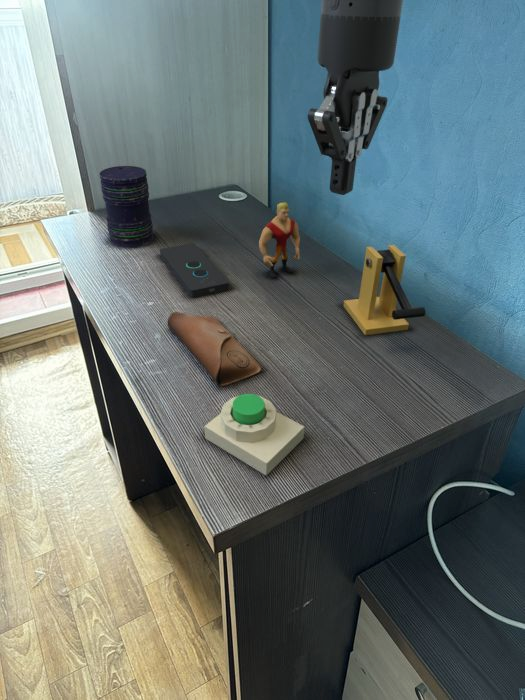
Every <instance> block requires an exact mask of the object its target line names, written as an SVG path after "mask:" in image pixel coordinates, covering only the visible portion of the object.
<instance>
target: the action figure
mask: <svg viewBox="0 0 525 700" xmlns="http://www.w3.org/2000/svg"><path fill="white" fill-rule="evenodd" d="M289 215H290V209H289V204H288V203H287V202H286V201H283V202H280V203H278V204H276V216H274V217H273V219H272V220H271V221H270V222H268V223H267V224H265V227H264V228H263V230H262V232H261V235H260V238H259V240H258V247H259V251H260V253H261V254H262V256H263V258H262V259H263V263H264V264H265V265H266V266H268V267H269V268H270V269H269V276H270V277H271V279H276V278H277V274H276V273H275V265H276V264H277V263H278V260H279V259H280V256H281V263H282V266H281V270H282V271H286V272H288V273H290V274H294V270H293V269H291V268H290V267H288V266H287V262H288V260H289V259H288V252H287V251H288V250H287V241H288V239H289V238H290V240H291V242H292V244H293V245H294V247H295V248H294V250H295V255H294V256H293V258H294V260H300V244H301V243H300V242H301V236H300V233H299V225H298V223H297V222H296V221H295V220H294V219H293V218H290V217H289ZM271 239H273V240H275V241H276V244H275V256H270V255H268V252H267V245H268V243H270V241H271ZM281 254H282V255H281Z"/></svg>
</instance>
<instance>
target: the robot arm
mask: <svg viewBox="0 0 525 700" xmlns="http://www.w3.org/2000/svg"><path fill="white" fill-rule="evenodd" d="M403 1H404V0H321V5H320V6H321V7H320V20H319V33H318V49H317V63H318V65H319V66H321V67H323V68H325V70H326V71H327V76H326V79H325V83H324V87H323V90H322V91H323V92H322V95H323V101H322V102H321V104H320V105H319V107H318V108H313V107H311V108H310V109H309V110H308V112H307V120H308V123H309V126H310V128H311V131H312V134H313V136H314V139H315V142H316V144H317V147H318V149H319V153H320V154H321V156H327V157H329V158H330V159H331V167H330V168H331V170H330V180H329V191H330V192H331V193H333V194H336V195H340V196H345V195H347V194H349V193H351V192H352V191H353V189H354V183H355V174H356V166H357V159H359V158H360V157H361V155H362V151H363V150H368V149H369V147H370V145H371V142H372V140H373V138H374V135H375V133H376V131H377V129H378V127H379V124H380V122H381V119H382V117H383V115H384V113H385V111H386V108H387V106H388V97H387V96H381V95H380V94H379V92H378V91H379V87H380V72H383V71H387V70H389V69H391V68H392V67H393V65H394V63H395V57H396V50H397V44H398V36H399V30H400V25H401V24H400V23H401V18H402V9H403Z"/></svg>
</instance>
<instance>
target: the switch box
mask: <svg viewBox="0 0 525 700" xmlns="http://www.w3.org/2000/svg"><path fill="white" fill-rule="evenodd" d="M238 396H239V395H237V396H233V397H232V398H230V399H228V401H226V402H225V403H223V404H222V407H221V411H220V413H219V414H218V415H217V416H215V417H214V418H213V419H211V420H210V421H208V422H207V424H205V425H204V438H205V440H207V441H209V442H210V443H212V444H213V445H215V446H217V447H219V448H220V449H222V450H223V451H225V452H227V453H228V454H230V455H232V456H233V457H235V458H237V459H238V460H240V461H241V462H243V463H245V465H248V466H250V467H251V468H253V469H255V470H256V471H258V472H259V473H261V474H262V475H264V476H268V475H270V473H271V472H272V471H273V470H274V469H275V468H276V467H277V466H278V465H279V464H280V463H281V462H282V461H283V460H284V459H285V458H286V457H287V456H288V455H289V454H290V453H291V452H292V451H293V450H294V449H295V448H296V447H297V446H298V445H299V444H300V443H301V442H302V441H303V440H304V438H305V437H304V436H305V426H304V425H302V424H301V423H298V422H297V421H295V420H293V419H291V418H289V417H287V416H286V415H284V414H282V413H280V412H278V411H277V408H276V407H275V405H274V404H273V403H272V401H270V400H268V399H267V398H264V397H262V396H261V395H258V396H259V397H261V398H262V399H263V401H264V403H265V412H264V418H263V419H262V420H261V421H260V422H259V423H257V424H253V425H244V424H241V423H239V422H237V421H236V420H235V419H234V417H233V401H234V400H235V399H236V398H237V397H238Z"/></svg>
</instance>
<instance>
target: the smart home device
mask: <svg viewBox="0 0 525 700" xmlns="http://www.w3.org/2000/svg"><path fill="white" fill-rule="evenodd" d="M159 254H160V259H161V260H162V261H163V263H164V264H165V265H166V267H167V268H168V270H169V271H170V272H171V274H172V275H173V276H174V278H175V279H176V280H177V282H178V283H179V284H180V285H181V287H182V288H183V290H184V291H185V292H186V294H187V296H189V297H190V298H198V297H203V296H208V295H212V294H216V293H222V292H228V291H229V290H230V280H229V279H228V278H227V277H226V276H225V275H224V274H223V272H221V270H220V269H218V267H217V266H216V265H215V264H214V262H212V261H211V260H210V258H209V257H208V256H207V255H206V253H204V252H203V251H202V250H201V248H200V247H199V246H198V245H197V244H195V243H193V242H192V243H186V244H180V245H175V246H174V245H173V246H169V247H167V246H166V247H162V248H160V249H159Z"/></svg>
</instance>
